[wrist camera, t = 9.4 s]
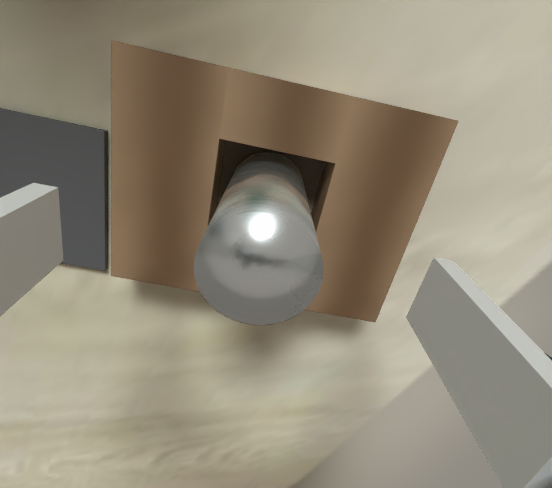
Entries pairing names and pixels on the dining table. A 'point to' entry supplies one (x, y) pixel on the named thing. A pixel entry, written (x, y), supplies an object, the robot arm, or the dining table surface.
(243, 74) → the jig
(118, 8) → the dining table surface
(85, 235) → the pad
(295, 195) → the brushed steel cylinder
